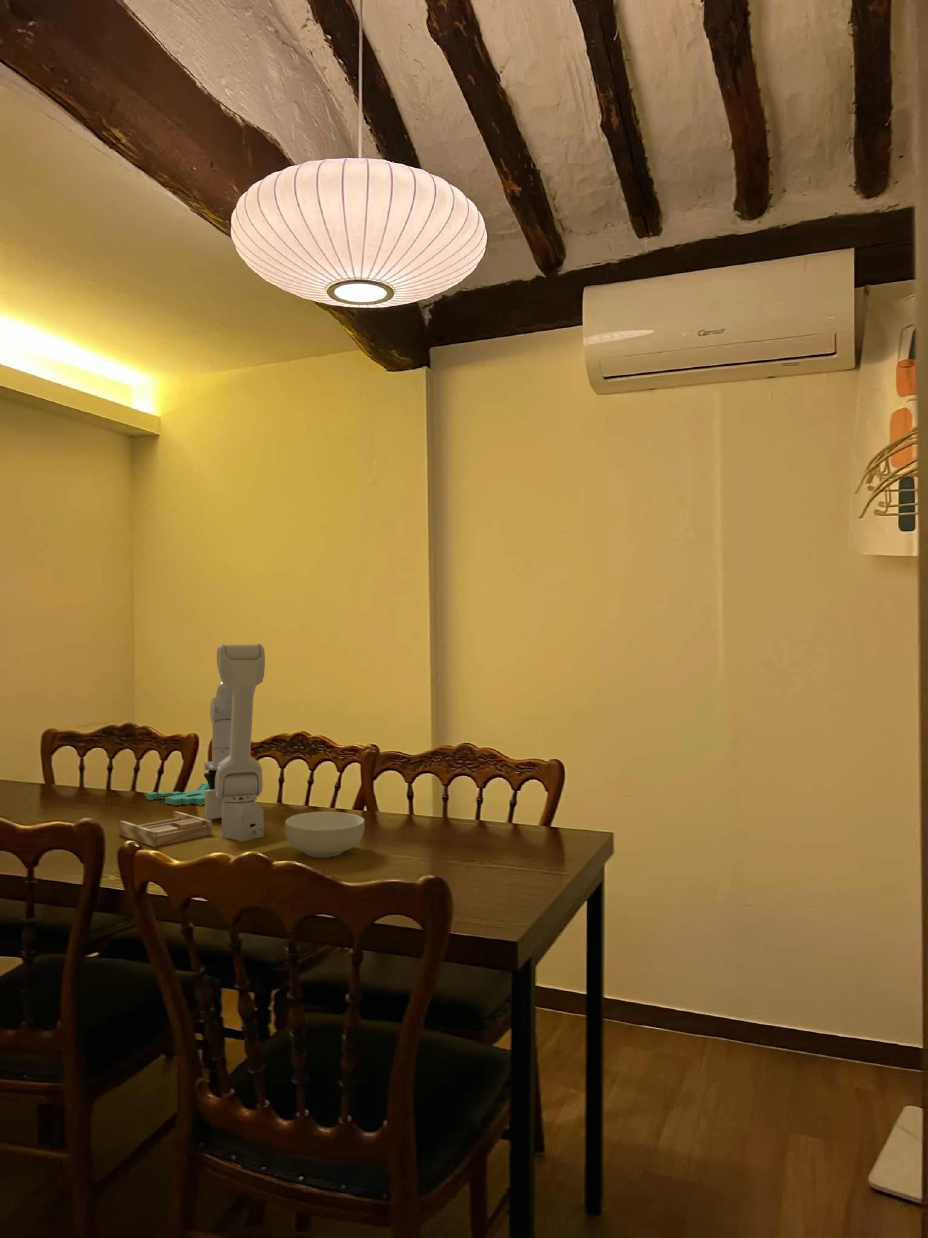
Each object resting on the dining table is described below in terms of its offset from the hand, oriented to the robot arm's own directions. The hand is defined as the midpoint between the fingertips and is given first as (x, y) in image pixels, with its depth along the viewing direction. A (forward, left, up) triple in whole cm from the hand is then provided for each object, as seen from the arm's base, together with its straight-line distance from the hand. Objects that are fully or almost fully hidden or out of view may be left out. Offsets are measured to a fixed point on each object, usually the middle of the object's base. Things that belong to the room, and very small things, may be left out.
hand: (223, 802), depth 208 cm
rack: (-6, +19, -4) cm, 20 cm away
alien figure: (+27, -10, -5) cm, 29 cm away
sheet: (0, 0, -4) cm, 4 cm away
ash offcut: (-10, +22, -3) cm, 24 cm away
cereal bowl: (-41, +2, -5) cm, 41 cm away
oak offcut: (-10, +16, -3) cm, 19 cm away
